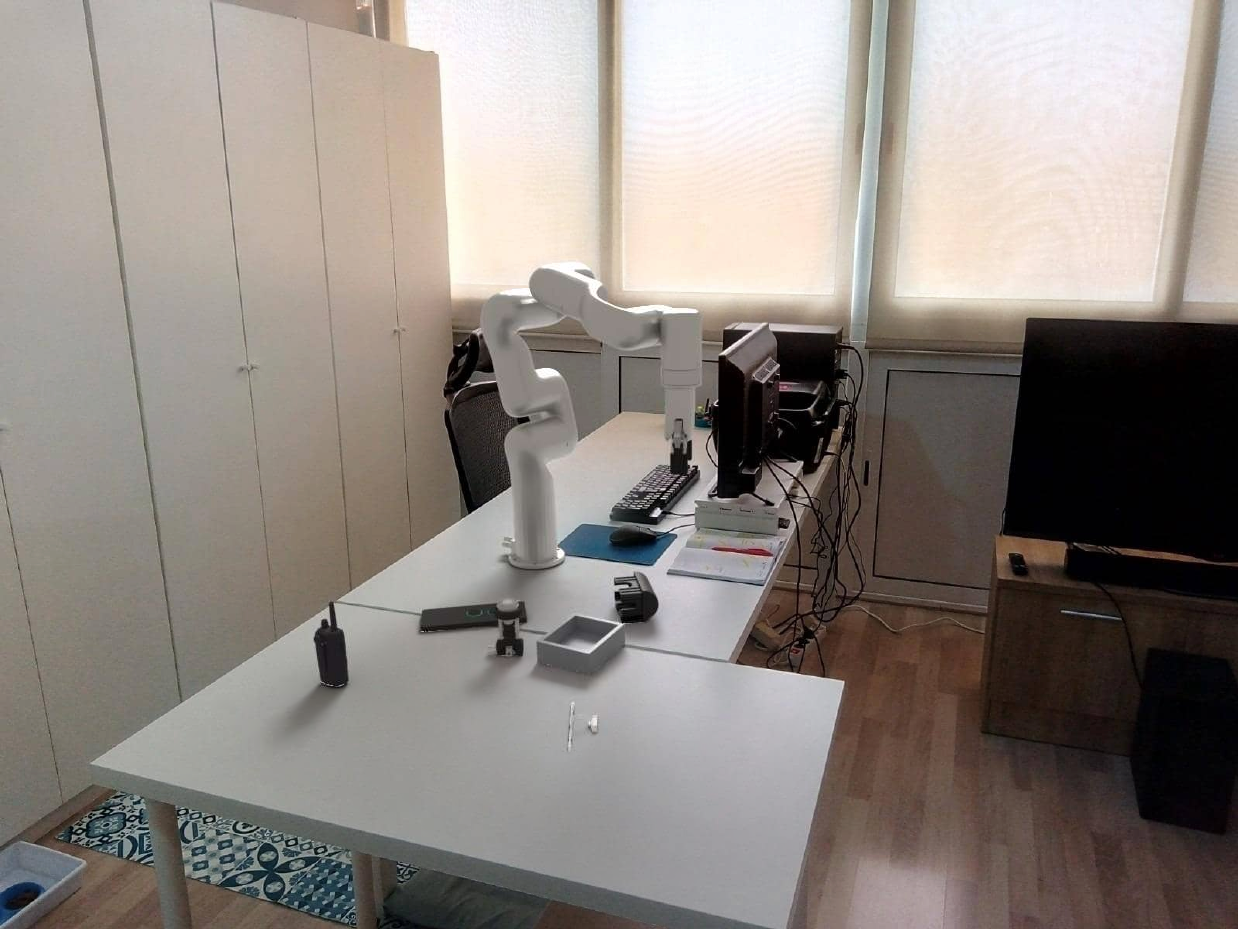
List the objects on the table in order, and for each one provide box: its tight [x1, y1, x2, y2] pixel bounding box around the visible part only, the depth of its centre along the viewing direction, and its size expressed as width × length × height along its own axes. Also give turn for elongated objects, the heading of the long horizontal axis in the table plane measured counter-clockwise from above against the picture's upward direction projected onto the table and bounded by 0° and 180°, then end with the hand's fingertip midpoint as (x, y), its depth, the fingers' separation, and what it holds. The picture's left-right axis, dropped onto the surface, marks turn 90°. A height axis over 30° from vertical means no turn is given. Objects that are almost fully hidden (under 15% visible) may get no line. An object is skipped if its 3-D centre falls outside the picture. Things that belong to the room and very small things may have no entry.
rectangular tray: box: [535, 612, 626, 676], centre depth 158 cm, size 11×13×4 cm
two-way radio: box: [313, 601, 350, 686], centre depth 147 cm, size 6×4×15 cm
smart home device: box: [420, 600, 528, 633], centre depth 173 cm, size 8×2×20 cm
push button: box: [486, 597, 525, 658], centre depth 157 cm, size 7×5×10 cm
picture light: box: [567, 701, 598, 750], centre depth 136 cm, size 14×4×2 cm, turn 0°
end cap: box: [613, 570, 660, 624], centre depth 173 cm, size 10×7×7 cm
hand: (681, 466), depth 168 cm, fingers open, 9 cm apart
